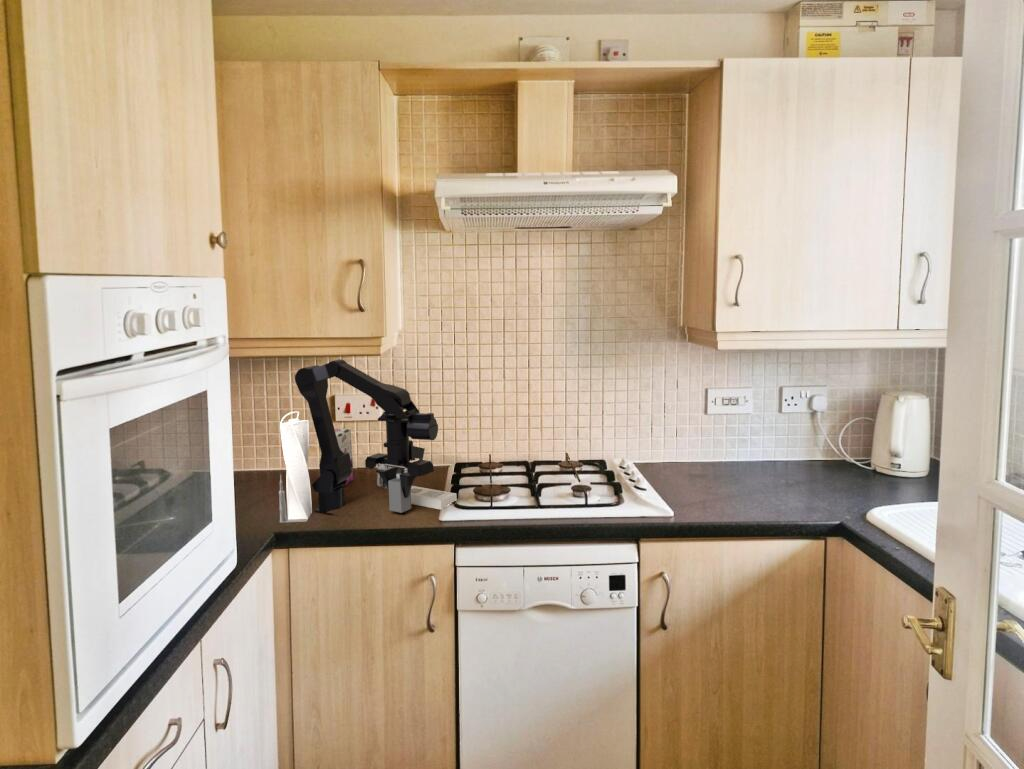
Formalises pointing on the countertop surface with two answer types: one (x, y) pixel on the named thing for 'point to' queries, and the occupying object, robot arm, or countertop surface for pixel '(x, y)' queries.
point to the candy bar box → (345, 445)
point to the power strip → (431, 497)
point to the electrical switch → (381, 482)
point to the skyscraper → (295, 471)
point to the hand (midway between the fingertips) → (400, 496)
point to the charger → (398, 496)
